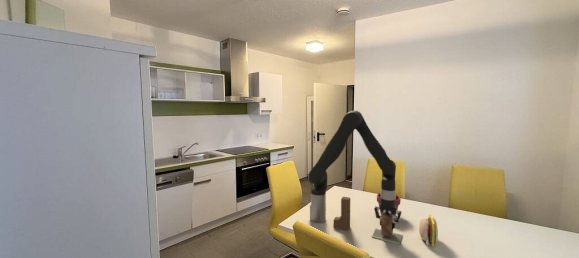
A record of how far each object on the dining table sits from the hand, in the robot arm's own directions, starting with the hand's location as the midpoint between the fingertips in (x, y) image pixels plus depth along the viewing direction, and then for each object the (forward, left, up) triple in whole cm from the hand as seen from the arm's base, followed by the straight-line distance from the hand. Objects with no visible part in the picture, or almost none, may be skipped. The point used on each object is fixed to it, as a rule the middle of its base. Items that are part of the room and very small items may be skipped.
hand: (387, 227), depth 131 cm
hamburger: (+19, +7, -6) cm, 21 cm away
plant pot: (-4, +28, -6) cm, 29 cm away
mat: (0, 0, -5) cm, 5 cm away
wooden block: (-25, -2, -5) cm, 26 cm away
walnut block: (0, 0, -3) cm, 3 cm away
